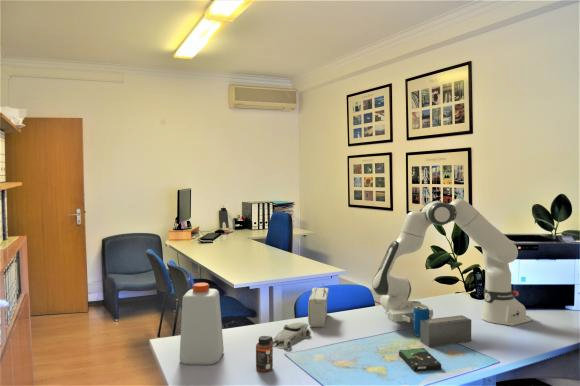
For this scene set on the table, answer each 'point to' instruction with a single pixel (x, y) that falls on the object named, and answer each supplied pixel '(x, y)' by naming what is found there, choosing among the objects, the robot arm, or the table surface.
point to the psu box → (445, 331)
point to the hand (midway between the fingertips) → (420, 319)
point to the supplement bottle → (264, 354)
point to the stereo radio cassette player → (317, 307)
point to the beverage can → (419, 317)
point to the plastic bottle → (201, 326)
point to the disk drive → (420, 360)
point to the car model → (290, 335)
